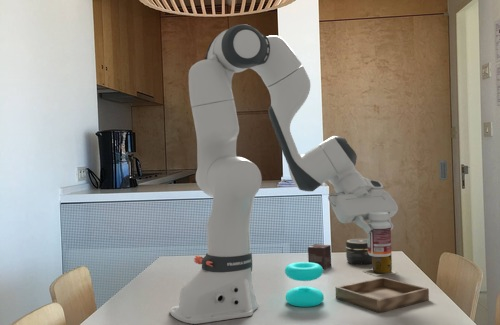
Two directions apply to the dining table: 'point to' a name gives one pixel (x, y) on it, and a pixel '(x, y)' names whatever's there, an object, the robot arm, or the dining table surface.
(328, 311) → the dining table surface
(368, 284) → the tray
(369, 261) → the jar
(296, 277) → the donuts
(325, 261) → the box
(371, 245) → the pill bottle
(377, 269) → the condiment
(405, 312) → the dining table surface
